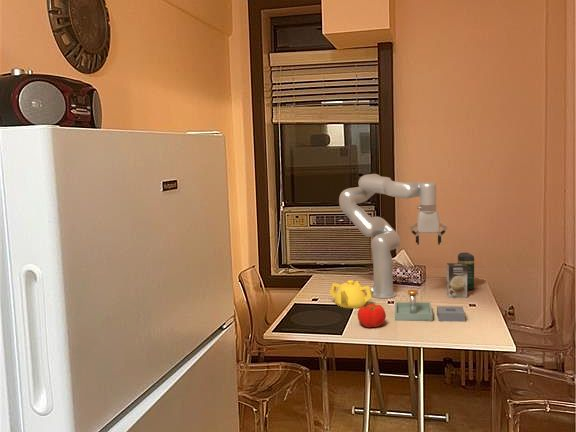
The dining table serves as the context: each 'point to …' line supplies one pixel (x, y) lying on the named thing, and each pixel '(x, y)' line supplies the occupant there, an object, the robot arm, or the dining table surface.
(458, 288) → the coffee box
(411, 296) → the orange knob peg
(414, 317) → the tray
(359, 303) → the teapot
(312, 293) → the dining table surface
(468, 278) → the coffee jar
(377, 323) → the tomato
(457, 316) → the grey square hole block
